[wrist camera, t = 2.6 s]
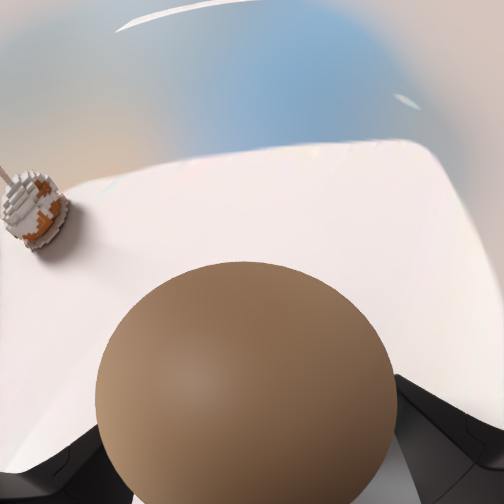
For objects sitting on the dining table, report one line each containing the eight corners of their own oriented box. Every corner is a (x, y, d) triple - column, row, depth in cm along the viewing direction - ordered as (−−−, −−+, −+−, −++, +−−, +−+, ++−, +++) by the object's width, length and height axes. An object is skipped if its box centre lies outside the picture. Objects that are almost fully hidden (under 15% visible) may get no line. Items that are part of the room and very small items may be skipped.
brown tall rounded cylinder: (273, 437, 15) (254, 575, 2) (223, 397, 16) (57, 395, 3) (316, 388, 16) (446, 368, 3) (265, 350, 18) (223, 214, 5)
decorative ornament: (78, 215, 26) (4, 117, 13) (35, 263, 23) (-51, 182, 10) (61, 190, 29) (3, 107, 16) (23, 230, 26) (-43, 158, 13)
